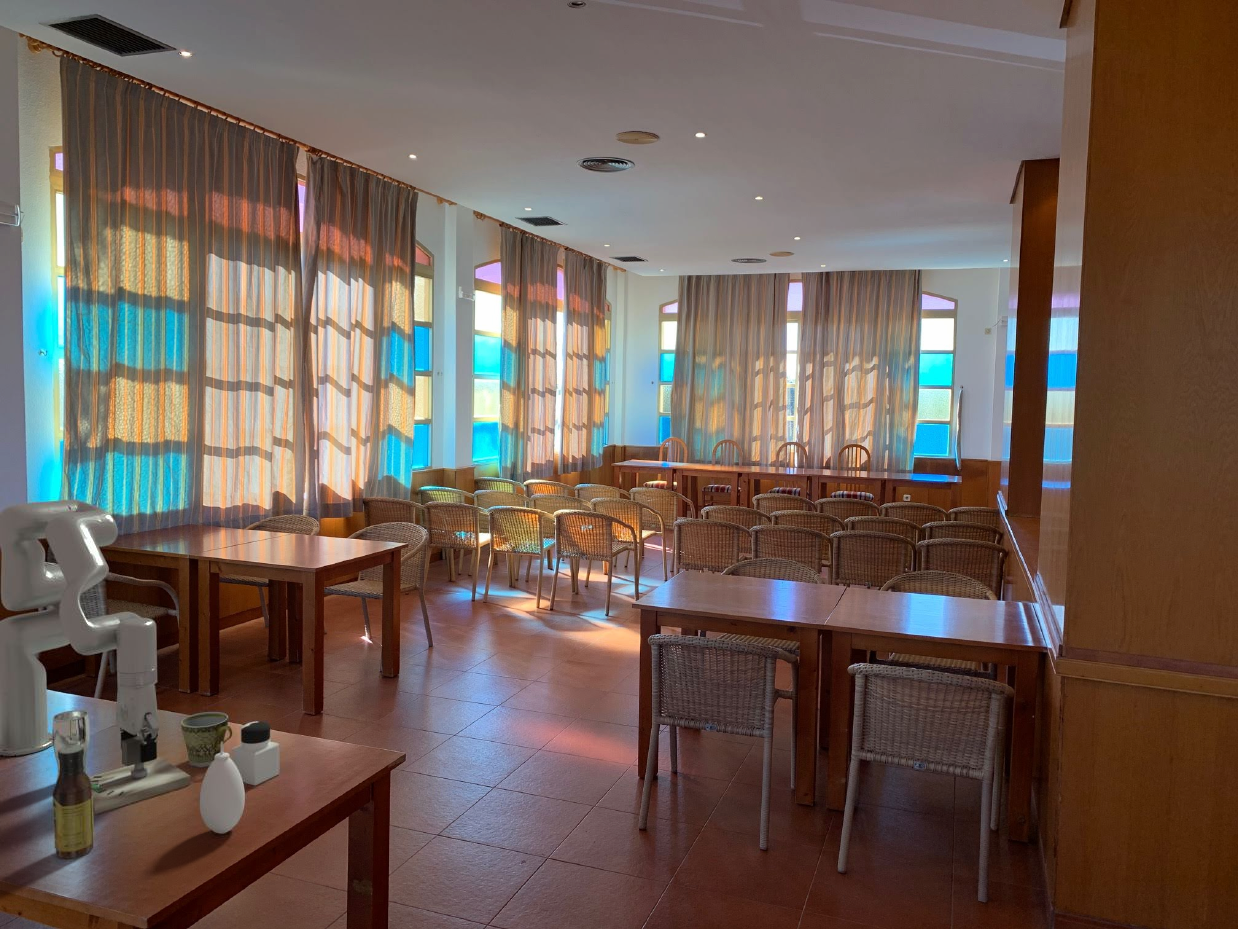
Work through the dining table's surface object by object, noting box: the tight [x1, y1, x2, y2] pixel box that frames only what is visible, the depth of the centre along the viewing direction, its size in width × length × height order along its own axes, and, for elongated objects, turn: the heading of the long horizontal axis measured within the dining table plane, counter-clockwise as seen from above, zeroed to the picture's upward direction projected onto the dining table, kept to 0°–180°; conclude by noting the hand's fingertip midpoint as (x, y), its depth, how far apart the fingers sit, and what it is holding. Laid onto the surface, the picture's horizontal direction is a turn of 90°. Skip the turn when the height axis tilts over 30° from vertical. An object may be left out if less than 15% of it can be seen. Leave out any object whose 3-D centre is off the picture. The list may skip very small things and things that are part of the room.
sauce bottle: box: [52, 745, 95, 859], centre depth 167 cm, size 7×6×20 cm
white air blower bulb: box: [199, 741, 246, 835], centre depth 176 cm, size 8×8×18 cm
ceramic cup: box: [180, 711, 233, 768], centre depth 208 cm, size 13×10×10 cm
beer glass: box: [51, 709, 91, 783], centre depth 196 cm, size 7×7×15 cm
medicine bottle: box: [231, 720, 280, 787], centre depth 201 cm, size 7×7×12 cm
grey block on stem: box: [99, 732, 150, 787], centre depth 194 cm, size 3×11×8 cm, turn 143°
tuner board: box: [89, 756, 191, 815], centre depth 194 cm, size 15×19×2 cm
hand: (138, 754), depth 195 cm, fingers open, 9 cm apart
